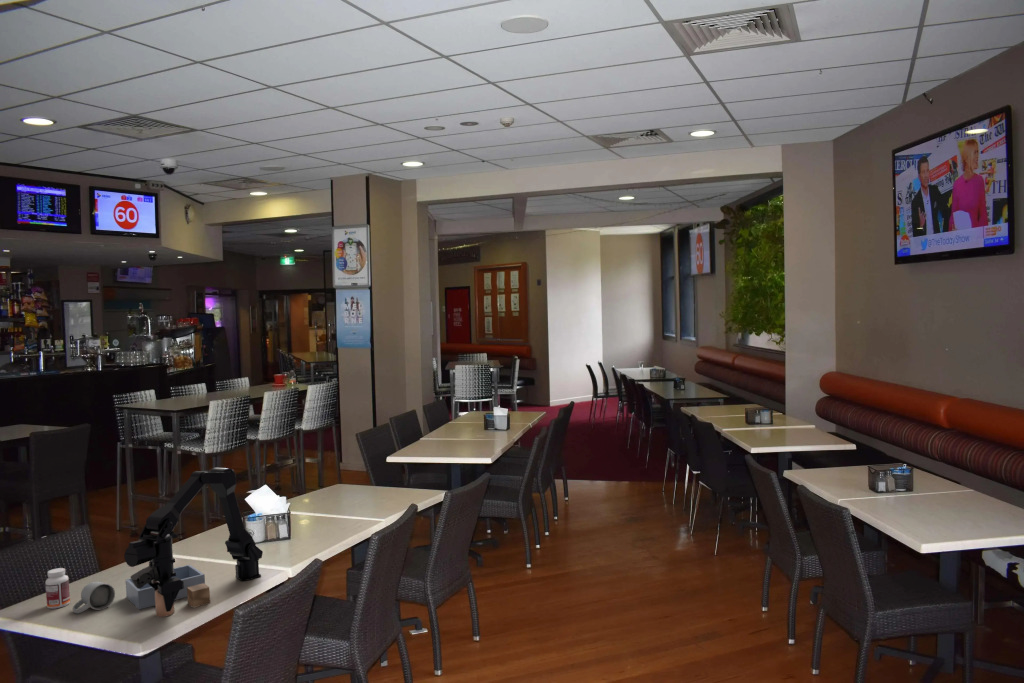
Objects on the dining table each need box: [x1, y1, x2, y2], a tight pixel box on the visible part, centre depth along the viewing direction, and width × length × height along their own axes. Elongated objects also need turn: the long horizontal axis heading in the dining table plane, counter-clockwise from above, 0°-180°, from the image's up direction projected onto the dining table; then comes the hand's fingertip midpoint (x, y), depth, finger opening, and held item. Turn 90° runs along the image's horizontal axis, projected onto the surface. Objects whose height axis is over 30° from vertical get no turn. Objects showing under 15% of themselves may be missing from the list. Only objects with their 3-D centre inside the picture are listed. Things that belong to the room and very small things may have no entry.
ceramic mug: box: [72, 581, 116, 614], centre depth 224 cm, size 11×8×8 cm
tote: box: [125, 564, 206, 610], centre depth 234 cm, size 20×15×6 cm
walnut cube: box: [187, 583, 211, 609], centre depth 225 cm, size 5×5×5 cm
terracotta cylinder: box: [154, 589, 176, 618], centre depth 218 cm, size 5×5×7 cm
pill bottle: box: [44, 567, 71, 610], centre depth 228 cm, size 6×6×11 cm
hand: (165, 608), depth 218 cm, fingers open, 6 cm apart
